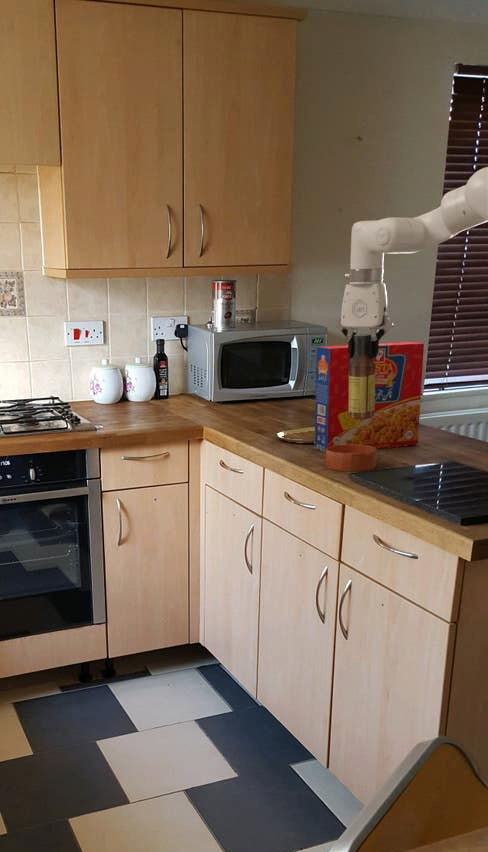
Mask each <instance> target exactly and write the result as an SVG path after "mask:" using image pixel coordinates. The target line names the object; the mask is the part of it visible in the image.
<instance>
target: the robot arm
mask: <svg viewBox="0 0 488 852" xmlns="http://www.w3.org/2000/svg"><path fill="white" fill-rule="evenodd" d="M487 222H488V166H486V167H483V168H481V169H479V170H477V171H476V172H475V173H473V174H472V175H471V176H470V177H469V178H468V180H467V182H466V184H465V185H462V186H460V187H457V188H455V189H453V190H450V191H448V192H446V193H445V194H444V195H443V197H442V199H441V201H440V206H439V207H437V208H435V209H432V210H430V211H429V212H426V213H423V214H420V215H418V216H416V217H384V218H381V219H377V220H359V221H356V222H354V224H353V225H352V227H351V235H350V236H351V237H350V238H351V239H350V240H351V241H350V264H349V265H350V266H349V267H350V268H349V271H348V272H346V273H345V274H344V278H345V280H348V282H349V283H348V284H346V285H345V288H344V293H343V297H342V304H341V313H340V319H339V320H338V321H337V323H336V325H335V328H336V329H337V330H338V331H340V332H341V333H342V334H343V335H344V337H345V338H346V340H347V341H348V342H347V345H348V353H349V358H352V357H353V356H354V348H355V342H354V335H358V331H359V329H369V333H370V335H371V341H370V342H369V358H375V357H377V354H378V349H379V343H380V341H381V339H382V338H383V336H384V335H386V334H387V333H388V332H389V331H390V330H393V328H394V324H393V322H392V320H391V319H390V317H389V316H388V296H387V289H386V283H385V282H383V280H384V279H383V277H384V256H385V254H413V253H417V252H421V251H423V250H426V249H429V248H432V247H435V246H436V245H439V244H441V243H444V242H445V241H448V240H449V239H452V238H454V237H455V236H456V235H458V234H459V233H461V232H463V231H466V230H469V229H471V228H474V227H477V226H478V225H482V224H484V223H487ZM381 327H382V328H381Z"/></svg>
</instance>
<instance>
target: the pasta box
mask: <svg viewBox="0 0 488 852" xmlns="http://www.w3.org/2000/svg"><path fill="white" fill-rule="evenodd" d="M424 351H425V343H424V342H415V341H414V342H413V341H398V342H383V343H382V342H379V349H378V354H377V357H375V358H372V359H373V360H374V365H375V410H374V416H373V417H372V418H369V419H354V418H351V417H350V416H349V413H350V412H349V369H350V363H351V360H352V358H353V357H352V358H349V353H348V344H345V345H344V344H343V345H326V346H325V345H324V346H316V365H315V366H316V368H315V369H316V371H315V404H314V405H315V411H314V427H315V444H313V446H314V447H316V448H318V449H320V450H322V451H325V450H326V448H327V447H329V446H334V445H345V444H356V445H367V446H372V447H375V448H376V449H377V450H381V449H380V448H384V449H388V448H387V447H396V446H405V445H416V444H418V445H419V432H420V417H421V415H420V414H421V399H422V398H421V397H422V385H423V384H422V383H423V370H424V369H423V368H424V367H423V366H424ZM314 447H313V448H314ZM396 448H397V447H396ZM322 451H321V452H322Z"/></svg>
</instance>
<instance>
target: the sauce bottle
mask: <svg viewBox="0 0 488 852" xmlns="http://www.w3.org/2000/svg"><path fill="white" fill-rule="evenodd" d="M370 341H371V333H359V334H357V335H354V342H355V348H354V356H353V358H352V360H351V363H350V369H349V412H350V413H349V416H350V417H351V418H354V419H369V418H372V417H373V416H374V410H375V365H374V360H373V359H372V358H369V342H370Z"/></svg>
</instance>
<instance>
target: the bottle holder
mask: <svg viewBox="0 0 488 852" xmlns="http://www.w3.org/2000/svg"><path fill="white" fill-rule="evenodd" d="M377 453H378V449H376V448H375V447H372V446H367V445H356V444H345V445H334V446H329V447H327V448H326V450H325V453H324V466H325V467H324V468H326V469H329V470H331V471H336V472H337V471H338V472H365V471H366V472H367V471H371V470H374V469H375V468H377V458H378V457H377V455H378V454H377Z"/></svg>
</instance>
